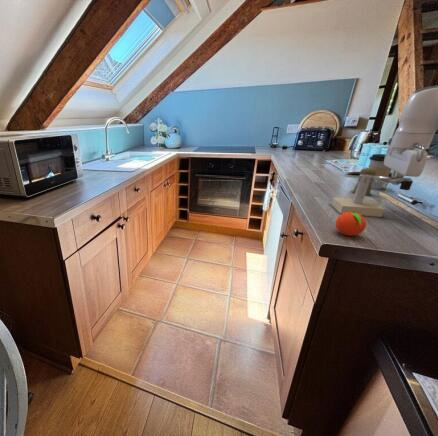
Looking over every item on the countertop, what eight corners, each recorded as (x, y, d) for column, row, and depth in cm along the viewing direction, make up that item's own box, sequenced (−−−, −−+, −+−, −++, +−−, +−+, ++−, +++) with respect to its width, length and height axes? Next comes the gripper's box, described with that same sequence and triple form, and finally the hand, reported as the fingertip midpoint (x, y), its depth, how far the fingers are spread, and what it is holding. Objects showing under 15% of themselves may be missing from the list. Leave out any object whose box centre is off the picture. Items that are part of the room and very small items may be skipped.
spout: (406, 188, 82) (411, 177, 81) (411, 191, 79) (416, 179, 78) (355, 184, 88) (358, 173, 87) (357, 186, 85) (361, 176, 84)
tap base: (368, 207, 92) (378, 178, 88) (381, 217, 83) (393, 186, 79) (331, 204, 96) (338, 177, 91) (340, 213, 87) (349, 183, 83)
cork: (368, 192, 109) (377, 167, 104) (371, 196, 104) (380, 170, 100) (351, 190, 112) (359, 166, 107) (353, 194, 107) (361, 169, 103)
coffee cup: (386, 191, 109) (398, 157, 103) (359, 187, 115) (369, 155, 109) (386, 187, 116) (398, 154, 110) (361, 183, 122) (371, 153, 116)
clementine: (369, 242, 68) (378, 219, 65) (341, 240, 69) (348, 217, 66) (353, 230, 75) (360, 208, 72) (328, 228, 76) (334, 207, 73)
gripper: (441, 146, 68) (420, 193, 74) (410, 139, 85) (395, 178, 90) (411, 145, 71) (393, 190, 76) (386, 139, 88) (373, 176, 93)
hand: (394, 184), depth 84 cm, fingers closed
